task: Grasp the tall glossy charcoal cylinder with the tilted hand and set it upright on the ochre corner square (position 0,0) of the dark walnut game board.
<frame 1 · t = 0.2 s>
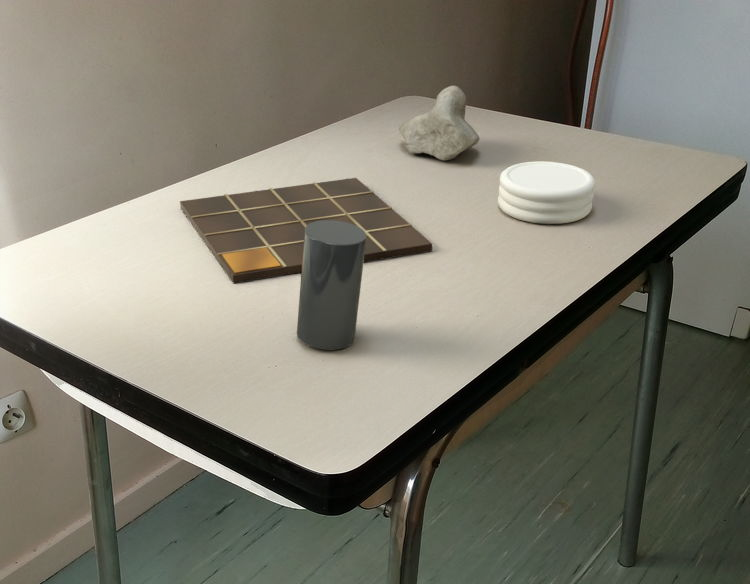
stone: (430, 157, 121), on the table
white ribbed disc: (543, 209, 107), on the table
board: (301, 228, 102), on the table
glossy charcoal cylinder: (325, 335, 83), on the table, tilted 6°
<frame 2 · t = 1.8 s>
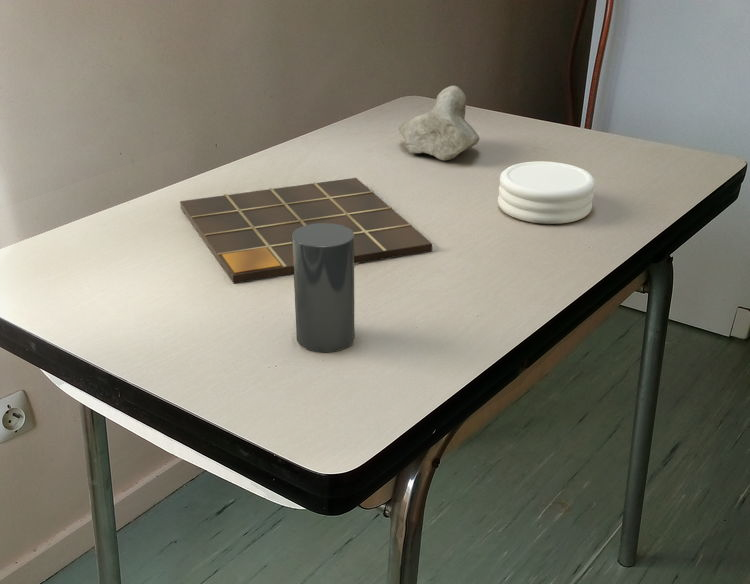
glossy charcoal cylinder: (325, 338, 83), on the table
everything else where it was.
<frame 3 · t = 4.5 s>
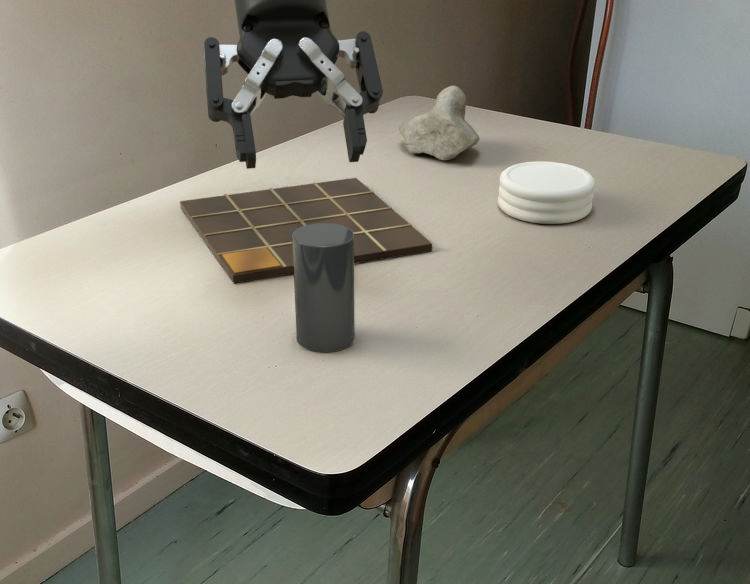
hand: (304, 161, 82), 12 cm above the table, tool tilted 45°, fingers open, 8 cm apart
nothing on the table moved.
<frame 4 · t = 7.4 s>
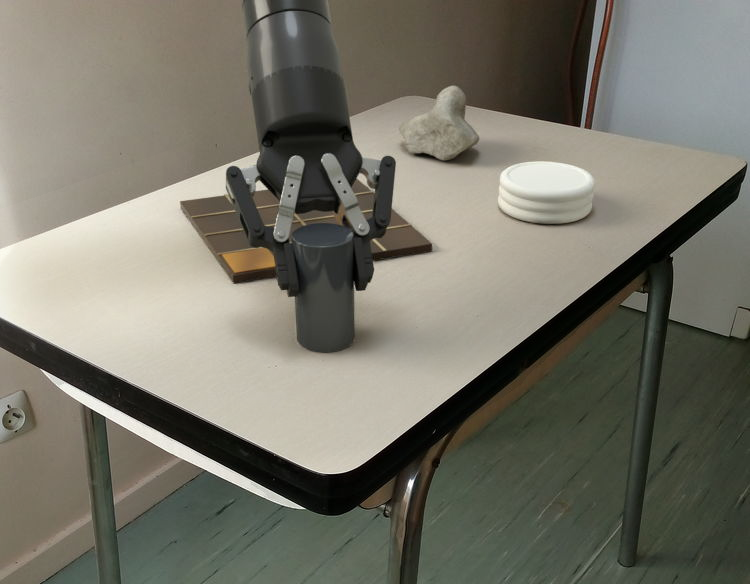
hand: (328, 289, 79), 5 cm above the table, tool tilted 45°, fingers closed on glossy charcoal cylinder, 5 cm apart
glossy charcoal cylinder: (325, 338, 83), on the table, touching gripper
everything else where it was.
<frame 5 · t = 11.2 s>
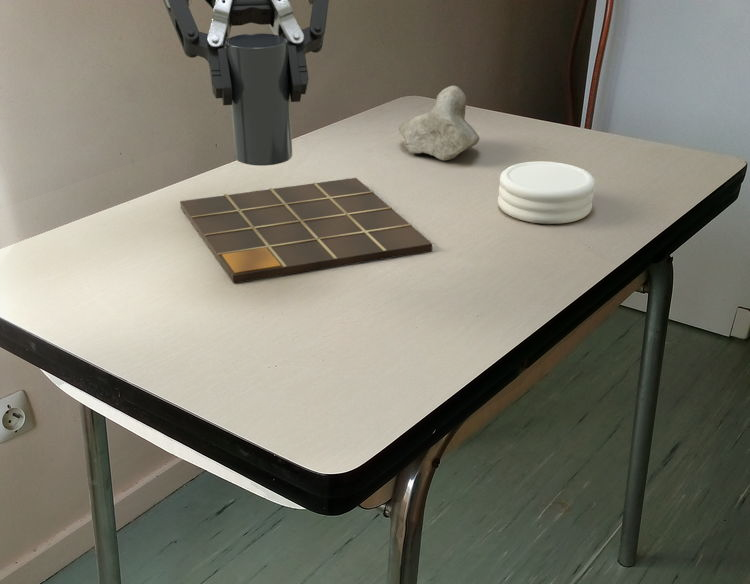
hand: (262, 97, 79), 17 cm above the table, tool tilted 45°, fingers closed on glossy charcoal cylinder, 5 cm apart
glossy charcoal cylinder: (263, 156, 84), point 12 cm above the table, touching gripper
everything else where it was.
when the fingers open (6 cm above the table, at t = 15.2 s): glossy charcoal cylinder stays where it is, resting on board.
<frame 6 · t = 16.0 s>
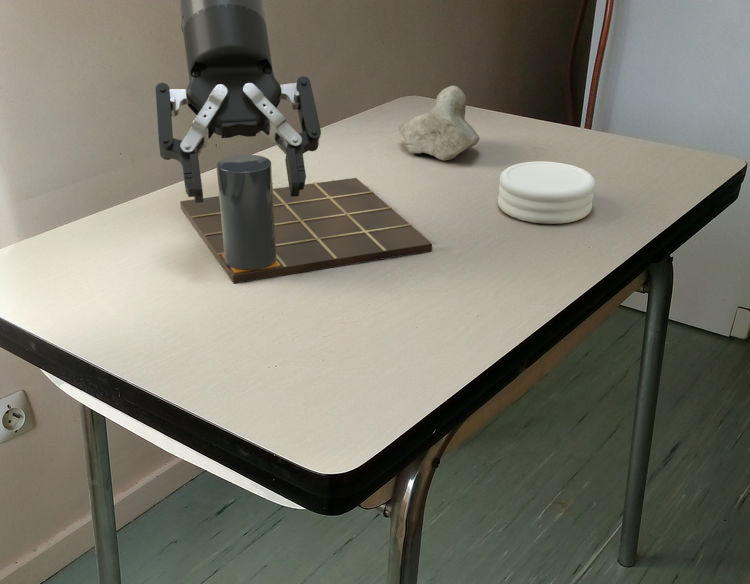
hand: (248, 196, 89), 7 cm above the table, tool tilted 45°, fingers open, 8 cm apart
glossy charcoal cylinder: (250, 259, 94), point 1 cm above the table, touching board
everything else where it was.
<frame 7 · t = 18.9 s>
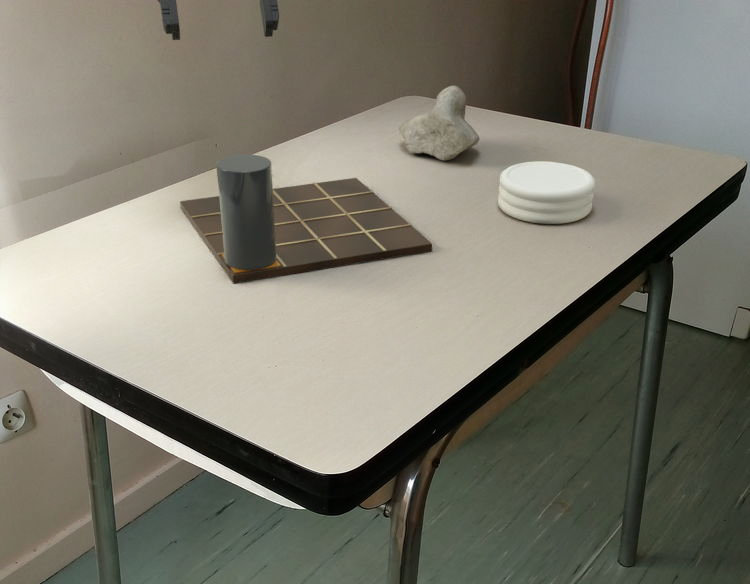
hand: (223, 33, 93), 18 cm above the table, tool tilted 45°, fingers open, 8 cm apart
nothing on the table moved.
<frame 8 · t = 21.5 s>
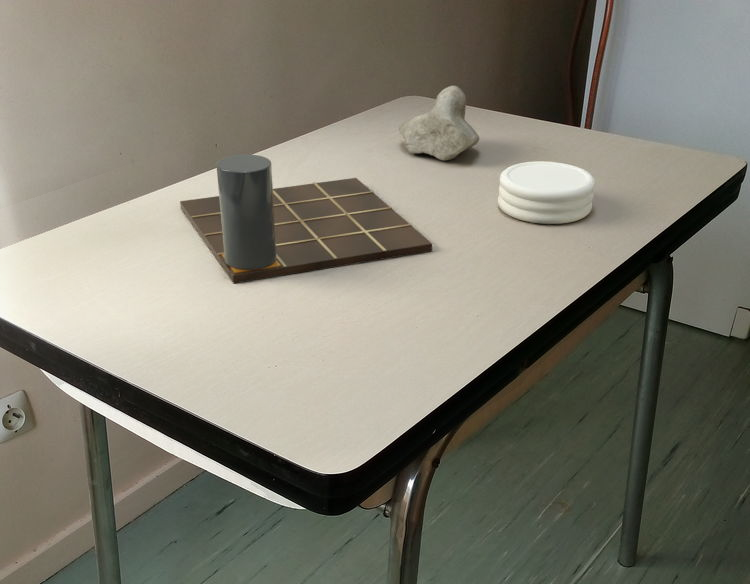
nothing on the table moved.
at the end: glossy charcoal cylinder 0.0 cm from the target spot on the board, point 0.9 cm above the board's base; glossy charcoal cylinder tilted 0°; the gripper is holding nothing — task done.
